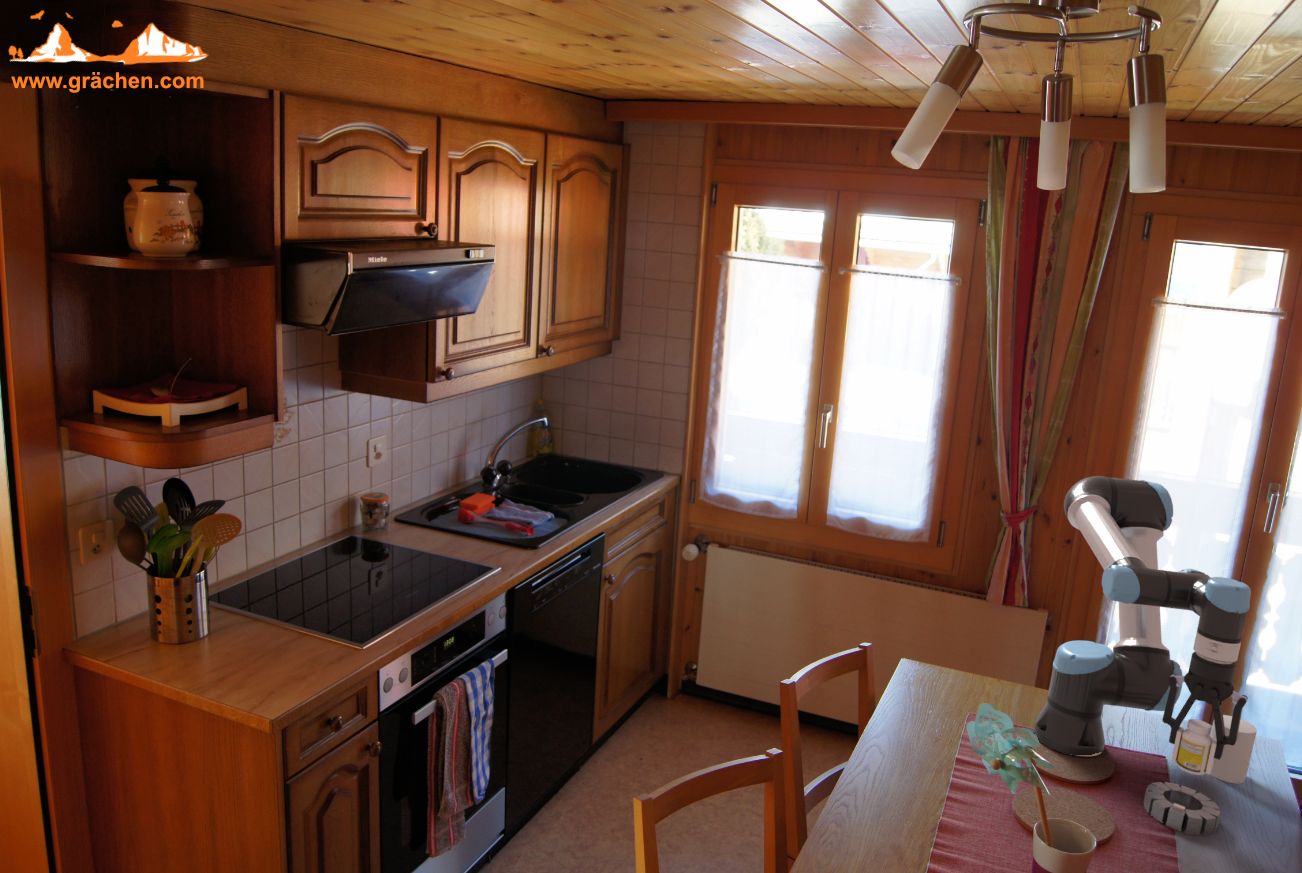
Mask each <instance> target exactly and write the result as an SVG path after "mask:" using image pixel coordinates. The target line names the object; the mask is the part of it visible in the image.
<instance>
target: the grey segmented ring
mask: <svg viewBox="0 0 1302 873" xmlns="http://www.w3.org/2000/svg"><path fill="white" fill-rule="evenodd" d="M1196 791H1197V790H1195V789H1192V788H1190V787H1187V786H1185V785H1181V787H1180V786H1179V784H1178V783H1173V782H1168V781H1164V782H1161V781H1158V782H1157V781H1156V782H1151V783H1150V784H1148V785H1147V787H1146V789H1145V794H1144V798H1143V804H1144V805H1143V806H1144V807H1145V808H1144V807H1143V808H1144V810H1145V809H1146V810H1147V811H1146V810H1145V811H1146V813H1147V812H1148V813H1151V814H1150V817H1151V816H1153V817H1154V818H1156V819H1157V820H1159V821H1160V822H1161V823H1162V822H1166V823H1165V826H1166V825H1167V826H1169V827H1168V828H1170V827H1171V828H1170V829H1172V828H1173V829H1172V830H1174V831H1178V832H1181V831H1183V833H1185V834H1187V835H1193V836H1194V835H1195V836H1200V835H1202V836H1209V835H1213V834H1214V833H1216V831H1217V828H1218V824H1219V820H1220V816H1221V808H1220V807H1219V806H1218V804H1216V802H1215V801H1212V798H1210V797H1208V796H1207V795H1205V794H1203V793H1202V792H1196ZM1148 813H1147V814H1148ZM1153 817H1152V818H1153ZM1154 818H1153V819H1154ZM1157 820H1156V821H1157ZM1160 822H1159V823H1160ZM1161 823H1160V824H1161ZM1162 824H1163V823H1162ZM1167 826H1166V827H1167Z"/></svg>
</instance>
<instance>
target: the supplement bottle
mask: <svg viewBox="0 0 1302 873" xmlns="http://www.w3.org/2000/svg"><path fill="white" fill-rule="evenodd" d="M1186 727H1187V728H1186V729H1185V728H1184V731H1183V732H1182V735H1181V740H1180V745H1179V750H1178V756H1177V760H1176V762H1175V764H1176V766H1177V767H1178V769H1180V770H1182V771H1183V772H1186V773H1187V774H1189V775H1190V774H1191V775H1196V776H1204V775H1206V768H1207V764H1208V759H1209V754H1210V750H1211V745H1212V742H1213V740H1212V738H1211V737H1210V735H1211V730H1212V725H1211V724H1210V723H1208V722H1206V721H1204V720H1200V719H1197V718H1196V719H1195V718H1191V719H1188V721H1187V726H1186Z"/></svg>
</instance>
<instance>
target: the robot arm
mask: <svg viewBox="0 0 1302 873" xmlns="http://www.w3.org/2000/svg"><path fill="white" fill-rule="evenodd" d="M1064 497H1065V498H1064V500H1063V509H1064V510H1063V511H1064V514H1065V516H1066V518H1067V520H1068V522H1069V523H1070V525H1071V526H1072V527H1074V528H1075V529H1077V530H1078V531H1080V533H1081V534H1082V536H1083V538H1084V539H1085V541H1086V542H1087V545H1088V546H1089V547H1090V549H1091V550H1092V553H1093V554H1094V556H1095V557H1096V559H1097V561H1098V562H1099V564H1100V566H1101V567H1102V569H1103V573H1102V576H1101V577H1102V578H1101V587H1102V592H1103V595H1104V596H1105V598H1106V599H1107V600H1109V601H1114V602H1118V622H1119V641H1118V642H1117V643H1116V644H1114V645H1113V646H1112V649H1111V648H1110V647H1109V646H1107V645H1104V644H1102V643H1096V642H1094V641H1090V640H1071V641H1067V642H1064V643H1063V644H1060V645H1059V646H1058V648H1057V650H1056V652H1055V653H1056V654H1055V655H1054V656H1055V657H1054V660H1053V662H1052V671H1051V677H1050V683H1049V687H1048V693H1047V694H1048V695H1047V699H1046V703H1045V704H1044V706H1043V707H1042V709H1041V710H1040V712H1039V714H1038V715H1037V718H1036V719H1035V721H1034V725H1033V731H1032V732H1034V733H1035V734H1036V735H1037V737H1038V739H1039V740H1038V739H1037V740H1038V741H1039V742H1040V743H1041V744H1043V745H1045V746H1046V747H1048V748H1050V749H1051V750H1054V751H1056V752H1059V753H1063V754H1064V755H1065V754H1066V755H1068V754H1072V755H1092V754H1095V753H1099V752H1102V751H1103V752H1104V749H1105V743H1106V740H1105V739H1106V738H1105V734H1104V732H1105V731H1104V729H1103V728H1104V727H1103V720H1102V714H1103V713H1102V712H1103V710H1104V706H1106V705H1107V706H1114V707H1115V706H1116V707H1122V708H1128V709H1129V708H1132V709H1139V710H1144V711H1147V712H1151V711H1155V712H1156V711H1157V712H1163V716H1162V718H1161V720H1162V722H1163V724H1167V726H1169V727H1170V734H1169V739H1168V741H1169V743H1170V744H1172V745H1174V746H1173V750H1172V754H1171V755H1172V756H1171V760H1170V761H1171V762H1172V763H1176V761H1177V756H1178V750H1179V745H1180V740H1181V735H1182V732H1183V731H1184V730H1185V727H1181V725H1182V723H1183V721H1184V720H1185V718H1186V717H1187V715H1188V714H1189V712H1190V710H1191V709H1192V707H1193V705H1194V704H1195V702H1196V701H1199V702H1205V703H1207V704H1209V705H1211V709H1212V713H1213V721H1214V722H1215V731H1216V739H1215V738H1214V740H1213V742H1212V745H1211V750H1210V754H1209V759H1208V764H1207V768H1206V774H1207V775H1210V773H1211V771H1212V768H1213V763H1214V759H1218V760H1220V758H1221V757H1222V753H1223V749H1224V745H1227V744H1228V745H1232V746H1233V745H1235V743H1236V741H1237V736H1238V731H1239V725H1240V719H1242V712H1243V708H1244V707H1245V705H1246V703H1247V702H1248V700H1249V699H1248V696H1247V695H1245V694H1240V693H1239V692H1237V691H1235V688H1234V685H1233V682H1234V676H1235V672H1236V667H1237V664H1236V662H1237V661H1238V658H1239V653H1240V648H1241V644H1242V638H1243V635H1244V630H1245V626H1246V622H1247V617H1248V614H1249V610H1250V607H1251V606H1250V605H1251V602H1250V601H1251V596H1252V591H1251V587H1249V585H1248V584H1246V583H1245V582H1242V581H1239V580H1236V579H1233V578H1229V577H1222V576H1213V577H1211V576H1209V574H1206V573H1205V572H1202V571H1200V570H1198V569H1195V568H1184V569H1182V570H1178V571H1172V570H1163V569H1159V562H1158V561H1159V560H1158V541H1159V540H1161V538H1163V537H1164V531H1167V530H1168V529H1169V528H1170V527H1171V525H1172V522H1173V519H1172V518H1173V517H1174V504H1173V500H1172V497H1171V495H1170V493H1169V490H1168V489H1167V488H1165V486H1163V485H1162V484H1160V483H1158V482H1153V481H1152V482H1151V481H1148V480H1144V479H1140V480H1137V479H1136V480H1135V479H1129V478H1118V477H1108V476H1107V477H1106V476H1104V475H1103V476H1101V475H1096V476H1088V477H1085V478H1082V479H1080V480H1079V481H1077V482H1076V483H1074V485H1072V486H1071V487H1070V489H1069V490H1068V491H1067V493H1066V495H1065V496H1064ZM1161 608H1166V609H1175V610H1182V611H1183V610H1186V611H1190V612H1193V613H1195V614H1196V615H1197V616H1199V619H1198V624H1197V628H1196V629H1197V630H1196V635H1195V639H1194V644H1193V652H1192V653H1191V659H1190V663H1189V667H1188V672H1187V673H1186V674H1184V675H1183V670H1182V669H1181V665H1180V663H1178V662H1177V661H1175V660H1173V659H1171V652H1170V649H1168V648H1167V646H1165V645H1164V644H1163V642H1162V641H1163V640H1162V622H1161ZM1183 683H1185V685H1186V687H1187V689H1188V691H1189V693H1190V694H1189V697H1188V698H1187V700H1185V701H1186V702H1185V703H1184V705H1183V707H1181V710H1180V711H1179V713H1178V714H1177V716H1176V718H1174V717H1173V713H1174V709H1175V705H1176V704H1177V702H1178V700H1179V698H1180V696H1181V694H1182V689H1183ZM1229 697H1231V699H1232V701H1231V702H1232V704H1233V705H1234V707H1233V710H1232V715H1231V716H1232V721H1231V727H1230V733H1229V736H1225V727H1224V719H1223V715H1224V713H1223V701H1226V699H1229ZM1034 733H1033V734H1034ZM1072 755H1071V756H1072ZM1206 774H1205V775H1206ZM1210 776H1211V775H1210Z"/></svg>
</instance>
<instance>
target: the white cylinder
mask: <svg viewBox="0 0 1302 873" xmlns="http://www.w3.org/2000/svg"><path fill="white" fill-rule="evenodd" d="M1223 719H1224V727H1225V736H1229V733H1230V727H1231V721H1232V715H1226V714H1223ZM1257 731H1258V729H1257V727H1256V726H1255V725H1254V724H1252V723H1251V722H1248V721H1247V720H1245V719H1242V718H1241V719H1240V725H1239V731H1238V736H1237V741H1236V743H1235V745H1233V746H1232V745H1228V744H1227V745H1224V749H1223V753H1222V757H1221V758H1220V760H1218V759H1214V763H1213V768H1212V771H1211V773H1210V776H1211V777H1213V778H1215V779H1218V780H1219V781H1220V780H1221V781H1222V782H1226V783H1230V784H1231V783H1232V784H1243V783H1245V782H1246V778H1247V773H1248V770H1249V766H1250V761H1251V758H1252V753H1253V749H1254V745H1255V740H1256V736H1257ZM1209 736H1210V737H1211V738H1212V740H1214V738H1215V739H1216V731H1215V722H1214V720H1213V722H1212V725H1211V732H1210V734H1209Z"/></svg>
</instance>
